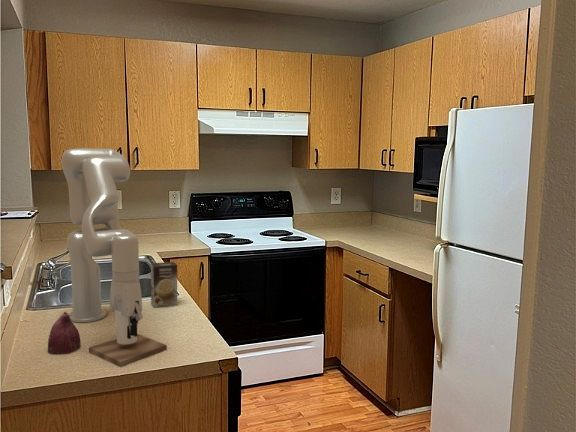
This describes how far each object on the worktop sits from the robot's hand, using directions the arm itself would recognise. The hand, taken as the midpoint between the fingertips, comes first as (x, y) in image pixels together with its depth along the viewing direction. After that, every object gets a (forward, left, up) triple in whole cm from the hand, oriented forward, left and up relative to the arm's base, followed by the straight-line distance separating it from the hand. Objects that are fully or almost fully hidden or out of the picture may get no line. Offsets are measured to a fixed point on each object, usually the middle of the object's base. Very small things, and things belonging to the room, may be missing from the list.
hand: (127, 335), depth 154 cm
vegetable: (-16, -11, -5) cm, 20 cm away
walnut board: (0, 0, -5) cm, 5 cm away
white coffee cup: (0, 0, -2) cm, 2 cm away
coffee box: (-28, +36, -5) cm, 46 cm away
